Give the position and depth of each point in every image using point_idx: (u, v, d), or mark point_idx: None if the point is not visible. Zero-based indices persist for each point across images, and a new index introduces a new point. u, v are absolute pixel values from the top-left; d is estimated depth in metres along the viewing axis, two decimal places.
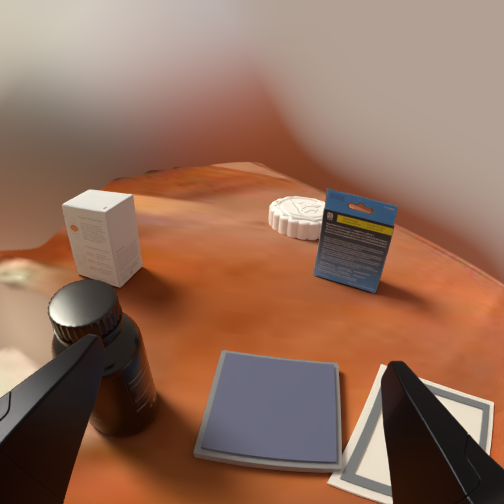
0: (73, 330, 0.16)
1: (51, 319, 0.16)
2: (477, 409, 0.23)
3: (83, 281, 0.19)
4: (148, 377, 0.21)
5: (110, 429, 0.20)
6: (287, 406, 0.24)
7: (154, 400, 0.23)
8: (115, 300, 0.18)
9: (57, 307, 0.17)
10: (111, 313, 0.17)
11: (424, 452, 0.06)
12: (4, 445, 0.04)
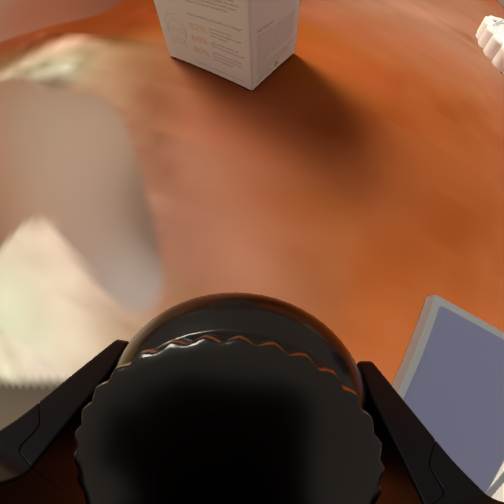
0: None
1: None
2: None
3: (216, 354, 0.04)
4: None
5: None
6: (480, 424, 0.13)
7: None
8: (376, 496, 0.03)
9: (118, 501, 0.03)
10: None
11: (387, 458, 0.06)
12: (38, 462, 0.04)
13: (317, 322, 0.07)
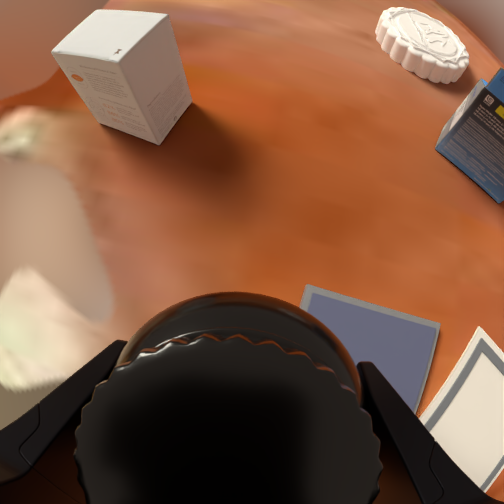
0: None
1: None
2: None
3: (214, 352, 0.04)
4: None
5: None
6: None
7: None
8: (374, 495, 0.04)
9: (118, 500, 0.03)
10: None
11: (387, 458, 0.06)
12: (38, 462, 0.04)
13: (315, 321, 0.07)
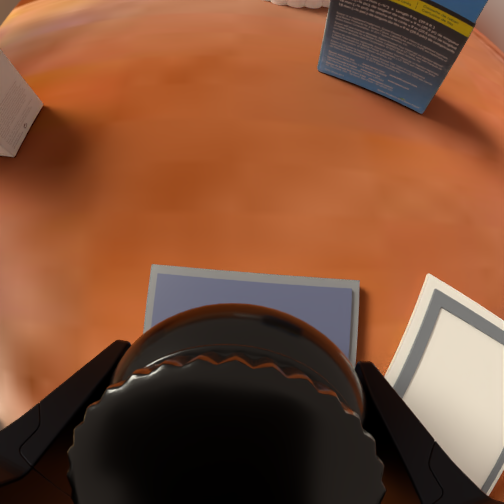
0: None
1: None
2: None
3: (210, 376, 0.04)
4: None
5: None
6: None
7: None
8: None
9: None
10: None
11: (386, 458, 0.06)
12: (38, 462, 0.04)
13: (318, 334, 0.07)
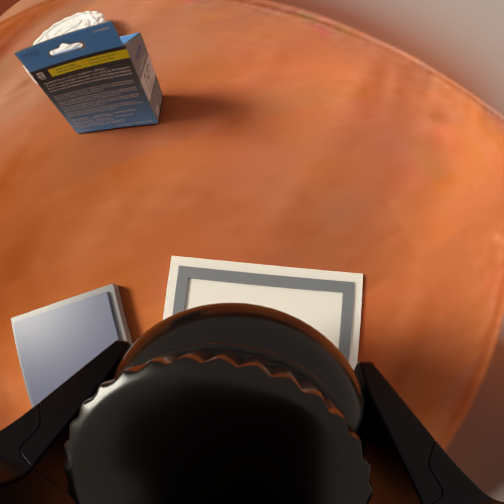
0: None
1: None
2: (333, 294, 0.22)
3: (196, 374, 0.04)
4: None
5: None
6: None
7: None
8: None
9: None
10: None
11: (386, 458, 0.06)
12: (38, 462, 0.04)
13: (315, 333, 0.07)
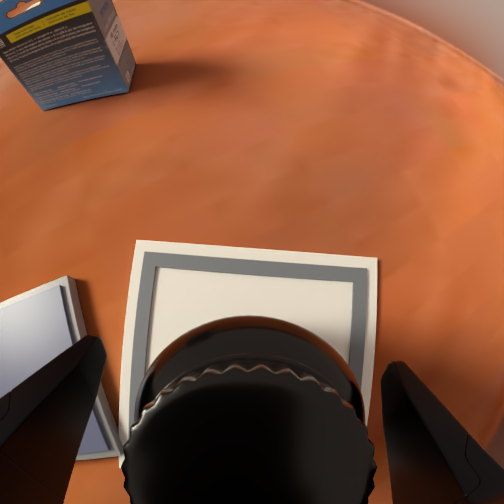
0: None
1: None
2: (340, 284, 0.17)
3: (243, 380, 0.05)
4: None
5: None
6: None
7: None
8: (370, 489, 0.04)
9: (161, 500, 0.04)
10: None
11: (424, 452, 0.06)
12: (4, 445, 0.04)
13: (321, 341, 0.08)
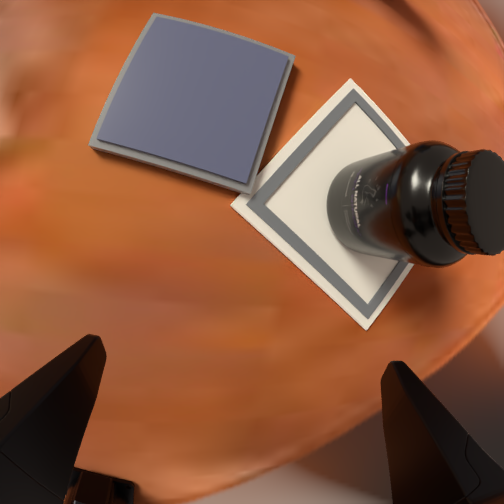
0: (470, 237, 0.11)
1: (463, 194, 0.11)
2: None
3: None
4: None
5: (344, 238, 0.21)
6: (210, 94, 0.19)
7: None
8: None
9: (476, 183, 0.11)
10: (500, 250, 0.12)
11: (424, 452, 0.06)
12: (4, 445, 0.04)
13: None
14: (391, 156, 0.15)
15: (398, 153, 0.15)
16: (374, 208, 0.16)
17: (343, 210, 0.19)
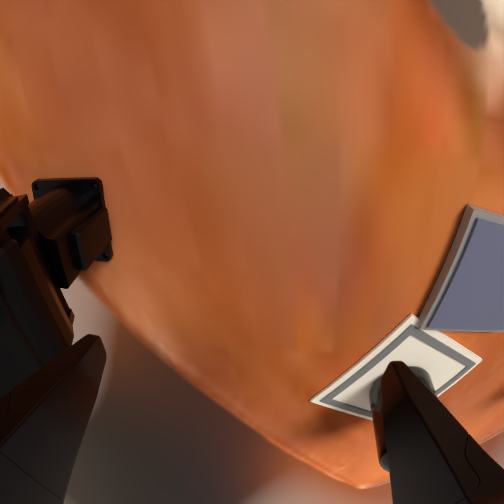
0: None
1: None
2: None
3: None
4: None
5: None
6: (489, 293, 0.21)
7: None
8: None
9: None
10: None
11: (424, 452, 0.06)
12: (4, 445, 0.04)
13: None
14: None
15: None
16: None
17: None
